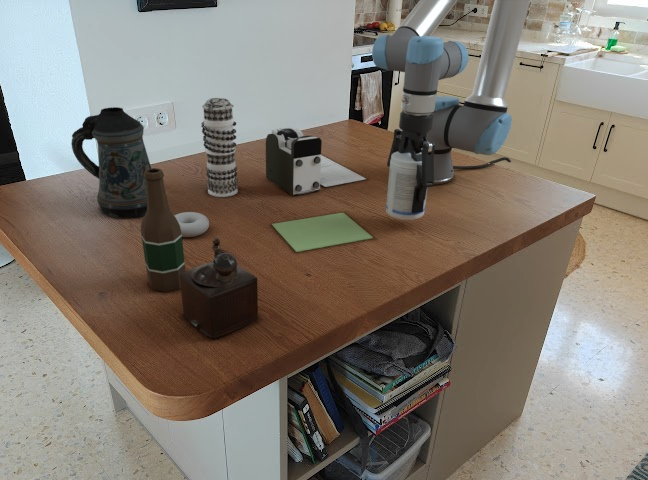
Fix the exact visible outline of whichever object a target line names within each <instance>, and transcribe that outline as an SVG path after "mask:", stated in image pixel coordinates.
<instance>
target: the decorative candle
mask: <svg viewBox="0 0 648 480" xmlns="http://www.w3.org/2000/svg"><path fill="white" fill-rule="evenodd" d="M201 107H202V108H203V121H202V122H201V123H200V124H201V125H200V126H201V129H202V130H201V133H202V134H203V136H202V141H203V147H204V153H206V169H205V171H206V177H207V179H206V183H207V185H206V187H207V193H208V194H209V195H210V196H212V197H216V198H217V197H218V198H227V197H228V198H229V197H232V196H235V195H236V194H238V192H239V189H238V187H239V185H238V178H237V176H238V172H237V170H238V167H237V165H236V164H237V163H236V159H235V152H236V151H237V148H236V146H237V143H236V142H235V141H234V140H236V139H237V135H235V134H236V133H237V129H235V128H234V127H235V126H237V122H236V121H235V120H234V116H233V107H234V104H232V103H231V102H230V99H229V100H228V99H227V98H224V97H211V98H209V99H207V100H206V101H205V102H204V104H203V105H202V106H201Z"/></svg>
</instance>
